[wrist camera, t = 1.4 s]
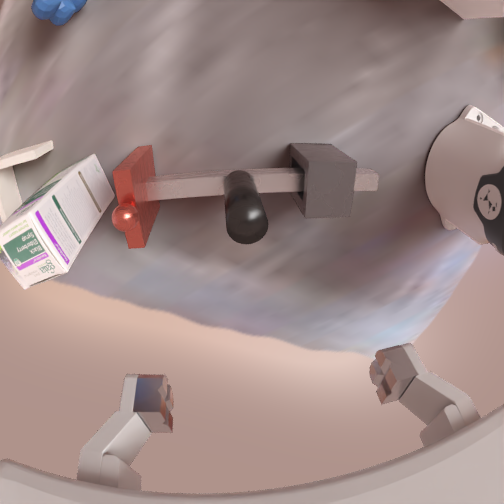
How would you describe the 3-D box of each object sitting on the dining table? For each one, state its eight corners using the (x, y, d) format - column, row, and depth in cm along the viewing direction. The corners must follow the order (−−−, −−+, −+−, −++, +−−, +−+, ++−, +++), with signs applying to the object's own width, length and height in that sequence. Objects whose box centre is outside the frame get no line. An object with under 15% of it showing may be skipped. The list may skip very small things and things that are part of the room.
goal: (52, 140, 26) (34, 149, 22) (74, 233, 32) (61, 250, 29) (4, 154, 25) (-14, 165, 22) (28, 238, 32) (14, 255, 28)
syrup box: (95, 151, 28) (24, 208, 16) (117, 197, 31) (66, 275, 19) (58, 172, 28) (-15, 236, 16) (79, 214, 31) (23, 293, 19)
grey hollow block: (330, 144, 30) (357, 162, 24) (326, 189, 33) (350, 216, 27) (290, 143, 30) (308, 161, 24) (288, 190, 33) (304, 218, 27)
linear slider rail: (363, 139, 30) (430, 178, 19) (356, 197, 34) (411, 255, 23) (134, 147, 28) (89, 191, 17) (144, 208, 31) (113, 276, 21)
